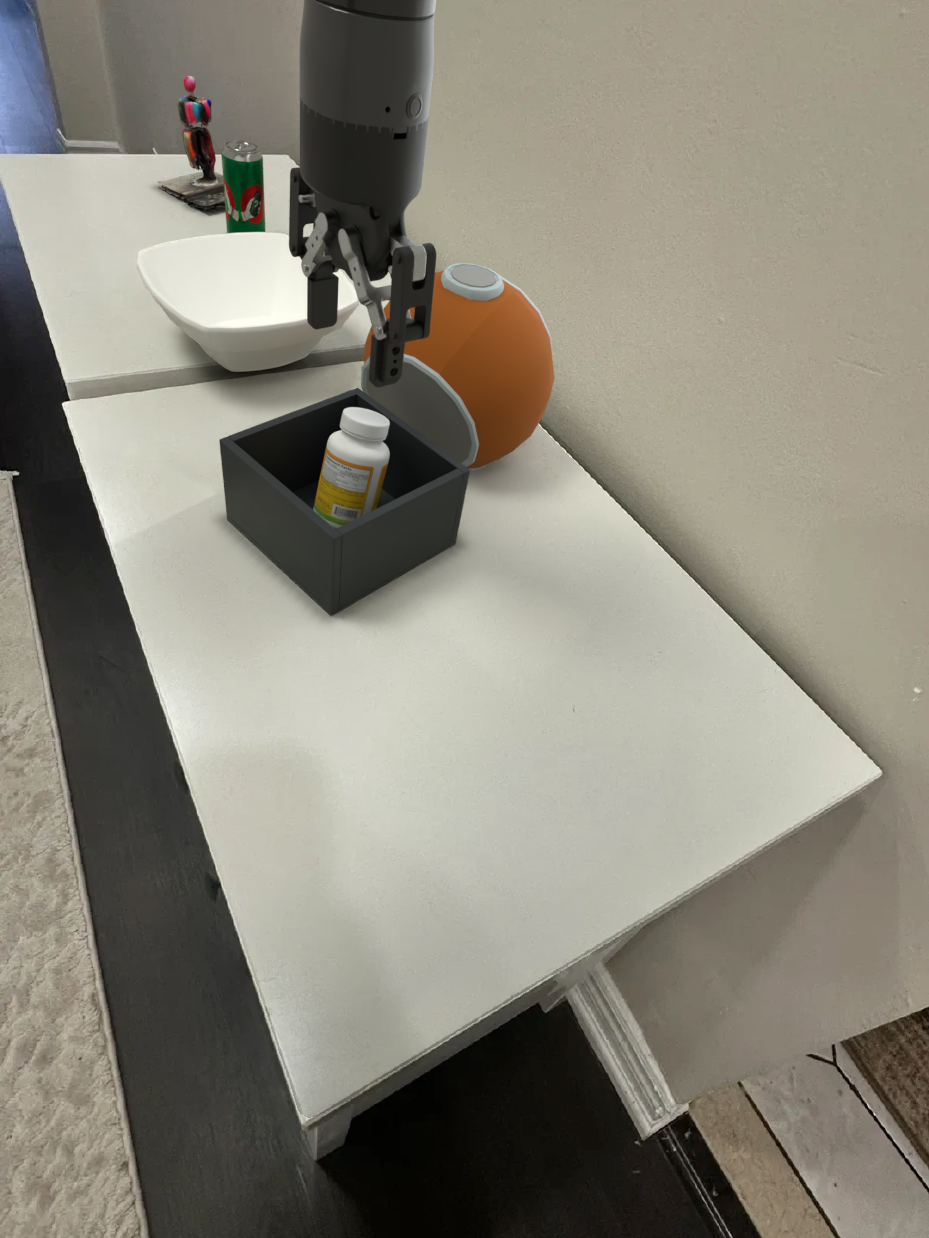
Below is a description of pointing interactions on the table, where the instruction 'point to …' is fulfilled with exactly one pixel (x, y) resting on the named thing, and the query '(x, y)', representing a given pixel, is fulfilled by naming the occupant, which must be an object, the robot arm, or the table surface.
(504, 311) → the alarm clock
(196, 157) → the statue
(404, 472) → the bin
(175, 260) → the bowl
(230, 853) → the table surface
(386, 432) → the supplement bottle
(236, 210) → the soda can
